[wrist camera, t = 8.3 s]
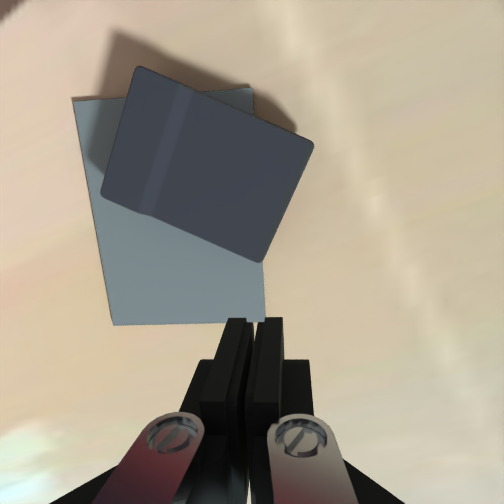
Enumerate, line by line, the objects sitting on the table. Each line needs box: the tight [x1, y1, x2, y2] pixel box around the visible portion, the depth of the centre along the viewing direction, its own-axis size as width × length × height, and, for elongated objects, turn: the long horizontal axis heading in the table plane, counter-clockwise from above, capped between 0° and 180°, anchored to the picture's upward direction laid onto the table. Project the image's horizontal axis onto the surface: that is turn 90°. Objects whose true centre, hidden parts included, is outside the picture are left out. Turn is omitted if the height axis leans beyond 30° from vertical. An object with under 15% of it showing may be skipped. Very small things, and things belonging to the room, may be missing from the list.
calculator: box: [100, 66, 314, 263], centre depth 33 cm, size 11×4×15 cm
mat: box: [73, 88, 266, 326], centre depth 36 cm, size 16×22×1 cm
